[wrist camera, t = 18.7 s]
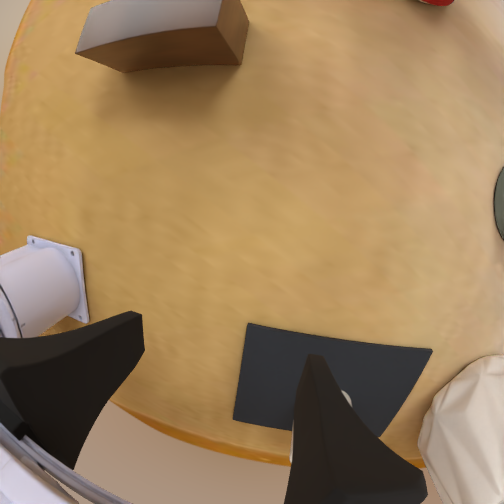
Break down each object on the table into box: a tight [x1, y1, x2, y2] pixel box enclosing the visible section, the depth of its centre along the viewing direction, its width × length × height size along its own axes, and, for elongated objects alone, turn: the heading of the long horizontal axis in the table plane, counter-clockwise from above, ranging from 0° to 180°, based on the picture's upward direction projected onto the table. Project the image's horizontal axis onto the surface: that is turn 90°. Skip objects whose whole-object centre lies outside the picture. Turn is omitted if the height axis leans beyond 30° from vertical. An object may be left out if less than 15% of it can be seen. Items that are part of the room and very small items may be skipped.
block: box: [75, 0, 249, 73], centre depth 13 cm, size 10×4×6 cm, turn 82°
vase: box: [418, 354, 504, 504], centre depth 12 cm, size 14×14×15 cm
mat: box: [233, 323, 433, 437], centre depth 21 cm, size 16×12×1 cm
